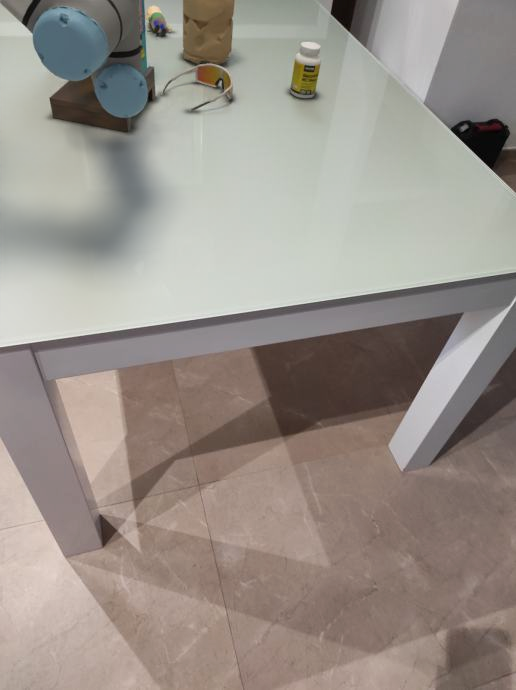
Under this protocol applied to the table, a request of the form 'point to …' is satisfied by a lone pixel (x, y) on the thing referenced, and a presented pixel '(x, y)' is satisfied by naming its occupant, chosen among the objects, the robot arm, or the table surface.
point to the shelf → (92, 104)
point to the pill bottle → (306, 70)
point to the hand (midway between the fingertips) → (90, 10)
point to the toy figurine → (157, 20)
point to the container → (207, 30)
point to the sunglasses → (209, 80)
